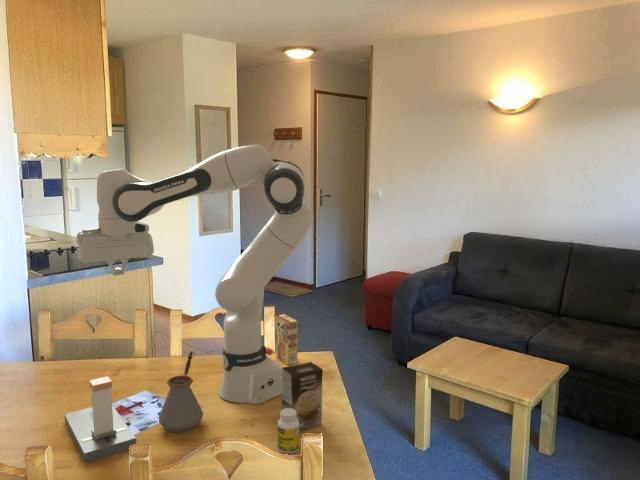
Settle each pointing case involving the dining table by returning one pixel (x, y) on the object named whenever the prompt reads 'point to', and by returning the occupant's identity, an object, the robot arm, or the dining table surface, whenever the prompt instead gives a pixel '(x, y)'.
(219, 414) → the dining table surface
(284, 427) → the supplement bottle
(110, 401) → the fader knob
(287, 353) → the candy box
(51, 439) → the dining table surface
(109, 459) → the dining table surface
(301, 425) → the coffee box
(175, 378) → the coffee pot
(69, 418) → the fader console
